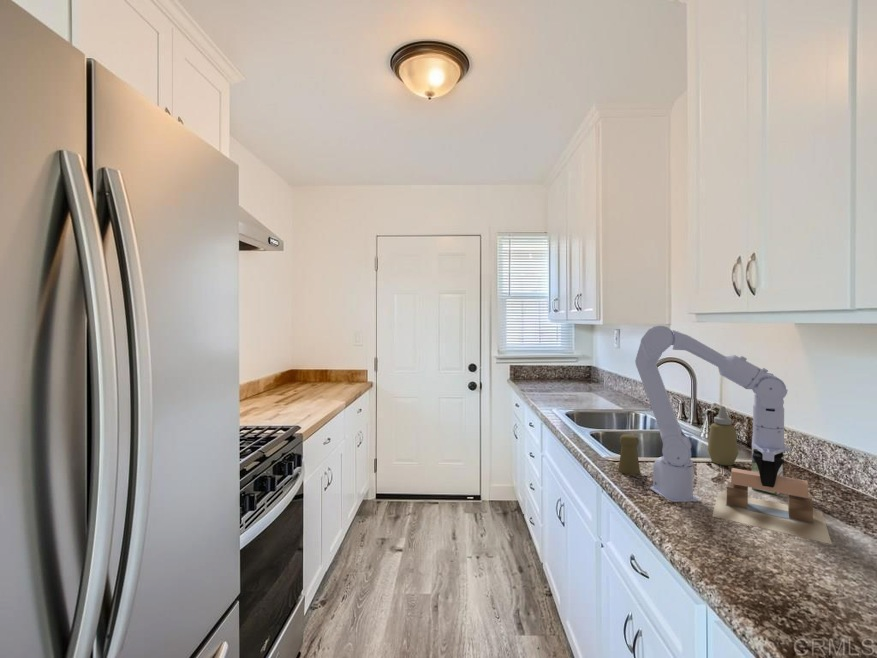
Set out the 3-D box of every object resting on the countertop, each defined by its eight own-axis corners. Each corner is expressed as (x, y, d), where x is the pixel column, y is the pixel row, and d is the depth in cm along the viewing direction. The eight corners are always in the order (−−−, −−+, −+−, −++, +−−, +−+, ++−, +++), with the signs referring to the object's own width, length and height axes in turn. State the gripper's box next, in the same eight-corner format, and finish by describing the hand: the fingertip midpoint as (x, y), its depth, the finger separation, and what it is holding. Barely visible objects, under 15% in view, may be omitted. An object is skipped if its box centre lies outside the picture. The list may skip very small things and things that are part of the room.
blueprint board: (712, 518, 96) (712, 496, 96) (718, 493, 110) (719, 474, 110) (831, 546, 84) (832, 521, 84) (821, 514, 98) (822, 492, 98)
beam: (731, 483, 102) (731, 471, 102) (731, 480, 104) (732, 467, 104) (808, 498, 93) (808, 484, 93) (807, 493, 96) (807, 480, 96)
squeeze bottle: (701, 459, 138) (701, 404, 137) (722, 458, 139) (723, 403, 139) (722, 468, 130) (722, 409, 130) (744, 466, 131) (745, 408, 131)
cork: (615, 467, 130) (615, 432, 130) (635, 468, 130) (635, 432, 130) (622, 474, 124) (622, 437, 124) (643, 475, 124) (643, 437, 124)
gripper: (792, 435, 90) (791, 498, 90) (789, 422, 102) (788, 478, 102) (751, 430, 95) (750, 490, 95) (752, 418, 106) (752, 472, 106)
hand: (767, 484), depth 99 cm, fingers closed on beam, 3 cm apart
